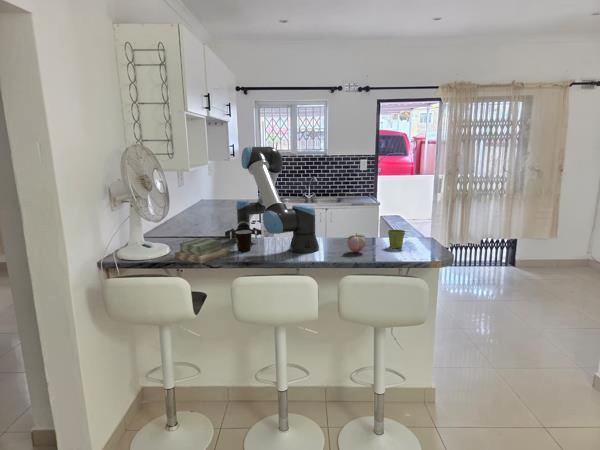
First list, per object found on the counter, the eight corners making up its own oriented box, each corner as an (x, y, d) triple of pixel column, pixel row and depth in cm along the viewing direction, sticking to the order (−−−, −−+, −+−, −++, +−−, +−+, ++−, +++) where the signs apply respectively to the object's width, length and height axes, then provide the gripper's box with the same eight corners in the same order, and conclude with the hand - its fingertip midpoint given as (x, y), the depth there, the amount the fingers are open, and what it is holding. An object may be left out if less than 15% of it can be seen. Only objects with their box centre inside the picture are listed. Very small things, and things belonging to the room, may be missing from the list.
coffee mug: (237, 248, 209) (236, 230, 207) (253, 248, 208) (252, 230, 206) (233, 254, 197) (232, 235, 195) (250, 254, 197) (249, 234, 195)
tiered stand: (227, 254, 197) (226, 240, 195) (201, 263, 182) (200, 248, 180) (202, 250, 206) (201, 236, 205) (175, 258, 191) (173, 243, 190)
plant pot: (390, 244, 212) (391, 228, 210) (407, 246, 206) (408, 230, 205) (383, 247, 204) (384, 231, 202) (401, 250, 199) (401, 233, 197)
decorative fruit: (360, 249, 201) (360, 230, 199) (368, 253, 194) (368, 233, 192) (343, 251, 198) (343, 232, 196) (351, 255, 191) (351, 235, 189)
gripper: (264, 233, 234) (266, 241, 213) (222, 235, 231) (220, 244, 210) (264, 221, 233) (266, 228, 212) (221, 223, 229) (219, 230, 209)
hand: (243, 236), depth 211 cm, fingers open, 13 cm apart
